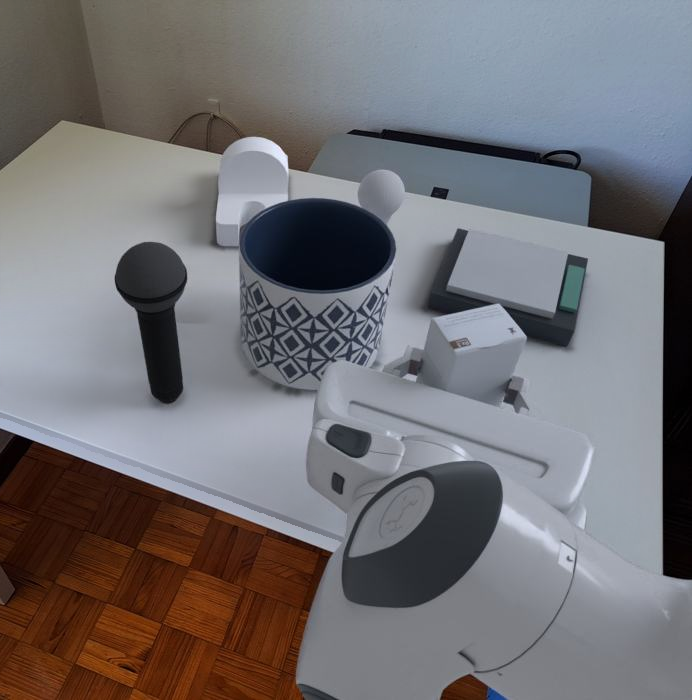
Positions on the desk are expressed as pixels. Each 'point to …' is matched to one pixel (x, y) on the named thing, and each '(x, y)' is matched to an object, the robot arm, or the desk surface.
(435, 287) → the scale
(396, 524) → the robot arm
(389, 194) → the light bulb
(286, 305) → the planter
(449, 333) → the cosmetic box
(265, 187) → the white u-slot block
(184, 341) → the desk surface
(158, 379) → the microphone
